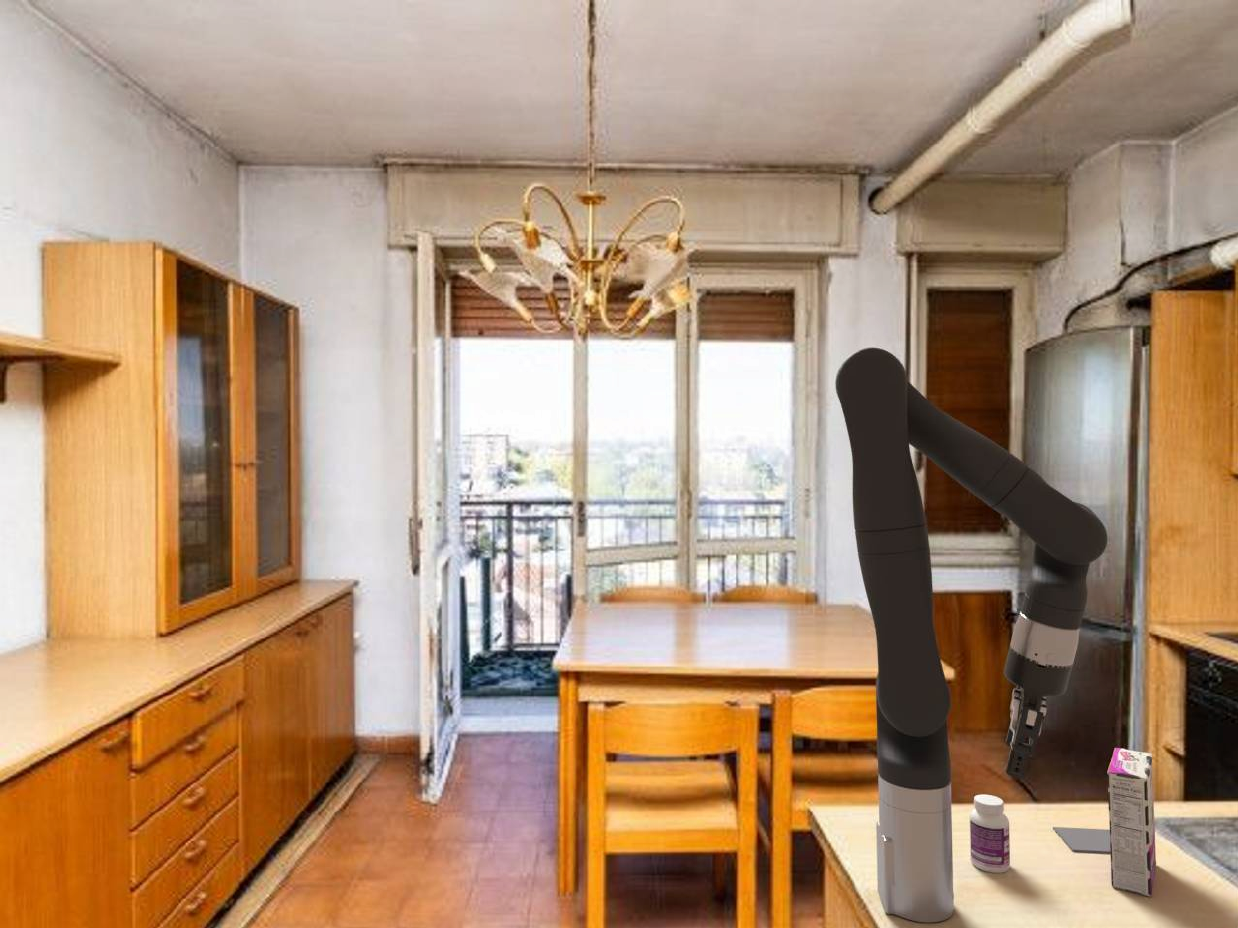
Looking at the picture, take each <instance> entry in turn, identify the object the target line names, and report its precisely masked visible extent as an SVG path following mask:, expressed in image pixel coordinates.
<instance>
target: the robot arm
mask: <svg viewBox="0 0 1238 928" xmlns="http://www.w3.org/2000/svg"><path fill="white" fill-rule="evenodd" d="M835 376H836V377H835V384H834V385H835V393H836V396H837V398H838V401H839V403H840V408H841V409H842V414H843V418H844V422H845V426H846V430H847V431H846V432H847V436H848V439H849V445H850V451H851V459H852V460H851V461H852V489H851V490H852V508H853V509H852V511H853V512H852V513H853V526H854V534H855V541H856V550H857V556H858V562H859V566H860V570H861V571H860V572H861V577H862V582H863V587H864V590H865V593H866V598H867V601H868V605H869V609H870V613H871V616H872V620H873V624H874V629H875V637H876V651H877V675H876V678H875V679H876V680H875V707H876V747H877V748H876V749H877V750H876V752H877V772H878V775H877V776H878V779H877V780H878V782H877V784H878V815H879V816H878V817H879V818H878V820H879V821H877V822H876V827H875V829H876V830H875V831H876V865H877V866H876V868H877V869H876V871H877V873H876V874H877V875H876V877H877V880H876V881H877V892H878V894H879V895H878V896H880V897H879V898H880V901H881V903H882V907H883V910H884V913H886V914H889V915H891V914H892V915H896V916H898V917H901V918H903V919H906V920H910V921H914V922H920V923H937V922H938V923H939V922H943V921H945V920H947V919H949V918H950V917H952V915H953V914H954V906H955V905H954V898H955V896H954V895H955V894H954V866H953V865H954V863H953V862H954V861H953V856H954V855H953V821H952V819H953V818H952V815H953V813H952V812H953V811H952V773H951V772H952V769H951V768H952V767H951V756H950V755H951V754H950V748H949V747H950V746H949V733H948V717H949V714H950V712H951V708H952V707H951V706H952V696H951V691H950V687H949V685H948V682H947V678H946V675H945V672H944V668H943V664H942V660H941V657H940V652H939V647H938V642H937V637H936V633H935V632H936V631H935V623H934V598H933V597H934V595H933V594H934V591H933V588H934V587H933V573H932V559H931V548H930V541H929V532H928V527H927V519H926V514H925V510H924V504H923V498H922V493H921V491H920V485H919V481H918V477H917V474H916V470H915V466H914V462H913V459H912V455H911V449H910V446H912V448H914V449H916V450H917V451H919V452H920V453H921V454H922V455H923V456H925V457H926V458H928V459H929V460H930V461H931V462H932V463H934V464H935V465H936V466H937V467H939V468H940V469H941V470H943V471H944V472H945V473H946V475H947V474H948V476H950V477H951V478H952V479H953V480H954V481H956V482H957V483H959V484H960V486H962V487H963V488H965V489H966V490H968V491H969V492H970V493H971V494H973V495H974V496H975V497H977V498H978V499H979V500H981V501H982V502H983V503H985V504H986V505H987V506H988V507H990V508H991V509H993V510H995V511H996V512H997V513H999V514H1001V515H1002V516H1004V517H1005V518H1007V520H1009V521H1011V522H1012V523H1013V524H1014V526H1016V527H1017V528H1018V529H1019V530H1020V531H1022V532H1023V533H1024V534H1025V535H1026V536H1027V537H1028V538H1029V539H1031V540H1032V541H1033V543H1034V547H1033V555H1032V563H1031V572H1030V575H1029V579H1028V582H1027V585H1026V588H1025V591H1024V596H1023V599H1022V600H1023V601H1022V604H1021V608H1020V611H1019V615H1018V617H1017V620H1016V623H1015V625H1014V629H1013V631H1012V636H1011V640H1010V645H1009V648H1008V653H1007V655H1006V656H1007V657H1006V661H1005V665H1004V669H1003V674H1004V676H1005V678H1006V679H1007V680H1008V681H1009V682H1010V683H1011V684H1013V685H1014V686H1016V688H1014V687H1013V690H1012V694H1011V702H1010V708H1009V711H1010V714H1009V716H1010V723H1009V728H1008V732H1007V735H1006V739H1005V744H1006V746H1008V747H1010V750H1009V751H1010V752H1009V755H1008V759H1007V762H1006V763H1007V764H1006V766H1005V772H1006V774H1007V775H1008V776H1010V777H1013V778H1016V779H1019V780H1023V779H1025V776H1026V772H1027V768H1028V765H1029V760H1030V757H1031V758H1034V755H1035V754H1036V748H1037V745H1038V739H1039V737H1040V735H1041V732H1042V724H1043V720H1045V716H1046V714H1047V709H1048V708H1047V707H1048V705H1047V704H1046V702H1047V697H1048V696H1051V697H1057V696H1061V695H1064V694H1065V693H1066V692H1067V689H1068V684H1069V681H1070V678H1071V677H1070V676H1071V674H1072V669H1073V665H1074V662H1075V658H1076V657H1075V656H1076V653H1077V650H1078V646H1079V645H1078V644H1079V639H1080V637H1079V636H1080V629H1081V626H1082V622H1083V618H1084V614H1085V610H1086V606H1087V601H1088V587H1087V576H1088V573H1089V569H1090V565H1091V563H1092V562H1094V561H1096V560H1098V559H1099V558H1100V557H1101V556H1102V555H1103V554H1104V552H1105V550H1106V549H1107V545H1108V532H1107V528H1106V527H1105V525H1104V523H1103V522H1102V520H1101V519H1100V518H1099V517H1098V516H1097V515H1096V513H1095V512H1094V511H1093V510H1092V509H1091V508H1090V507H1088V506H1086V505H1084V504H1082V503H1081V502H1076V501H1073V500H1072V499H1070V498H1068V497H1067V496H1066V495H1065V494H1063V493H1061V492H1060V491H1059V490H1057V489H1056V488H1055V487H1053V486H1051V485H1050V484H1049V483H1048V482H1046V480H1045V479H1044V478H1043V477H1042V476H1041V475H1040V474H1039V473H1038V472H1036V471H1035V470H1034V469H1032V467H1030V466H1028V465H1027V464H1026V463H1025V462H1023V461H1022V460H1021V459H1020V458H1018V457H1016V456H1015V455H1014V454H1012V453H1011V452H1010V451H1008V450H1007V449H1005V448H1003V447H1002V446H1001V445H999V444H998V443H996V442H995V441H994V440H992V439H990V438H988V437H987V436H986V435H983V434H981V433H980V432H978V431H977V430H974V428H971V427H970V426H967V425H966V424H964V423H962V422H961V421H959V420H957V419H956V418H954V417H952V416H951V415H950V414H948V413H946V412H945V411H943V410H942V409H940V408H939V407H938V406H936V405H935V404H933V402H932V401H930V400H929V399H928V398H927V397H925V396H924V395H923V394H922V393H921V392H920V391H919V390H918V389H917V388H916V387H915V386H914V385H913V384H912V383H911V382H910V381H909V380H908V376H907V371H906V369H905V367H904V365H903V363H902V362H901V360H899V358H898V357H896V355H894V354H893V353H891V352H890V351H887V350H885V349H884V348H879V347H864V348H861V349H858V350H856V351H854V352H852V353H851V354H850V355H849V356H847V357H846V359H845V360H844V361H843V362H842V363H841V364H840V366H839V368H838V370H837V372H836V375H835ZM1027 738H1029V740H1028V743H1026V739H1027Z"/></svg>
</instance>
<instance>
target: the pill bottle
mask: <svg viewBox="0 0 1238 928" xmlns="http://www.w3.org/2000/svg"><path fill="white" fill-rule="evenodd" d="M973 806H974V808H973V810H971V811H970V814H969V837H970V838H969V840H970V842H969V844H970V846H969V849H970V850H969V851H970V854H969V855H970V861H971V864H973V866H974V867H976V868H977V869H979V870H982V871H984V872H987V873H993V874H999V873H1005V872H1007V871H1008V870H1009V869H1010V868H1011V867H1010V866H1011V860H1010V859H1011V853H1010V850H1011V849H1010V848H1011V847H1010V846H1011V845H1010V843H1011V842H1010V821H1009V820H1010V819H1009V818H1008V816H1007V815H1006V814H1005V813H1004V810H1005V807H1004V806H1005V803H1004V800H1003V799H1001V798H1000V797H999V796H995V795H990V794H982V793H981V794H977V795H975V796H974V798H973Z"/></svg>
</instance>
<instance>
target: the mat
mask: <svg viewBox="0 0 1238 928" xmlns="http://www.w3.org/2000/svg"><path fill="white" fill-rule="evenodd" d="M1052 829H1053V831H1054V830H1055V831H1056V832H1057V833H1058V834H1057V833H1056V832H1055V831H1054V832H1055V833H1056V834H1057V836H1059V838H1060V837H1061V838H1062V839H1061V838H1060V839H1061V840H1062V841H1063V842H1064V843H1065V845H1066V846H1068V848H1069V849H1070V850H1071V852H1073V853H1074V852H1075V853H1095V854H1111V851H1110V829H1103V828H1085V827H1084V828H1083V827H1081V828H1080V827H1064V826H1063V827H1062V826H1061V827H1059V826H1053V827H1052Z"/></svg>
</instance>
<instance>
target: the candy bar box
mask: <svg viewBox="0 0 1238 928" xmlns="http://www.w3.org/2000/svg"><path fill="white" fill-rule="evenodd" d="M1110 760H1111V761H1110V763H1109V765H1108V769H1107V772H1106V773H1107V791H1108V792H1107V797H1108V821H1109V830H1110V851H1111V853H1110V870H1111V871H1110V874H1111V881H1110V882H1111V887H1112V888H1114V889H1117V890H1120V891H1123V892H1127V893H1128V892H1129V893H1132V894H1136V895H1140V896H1144V897H1149V898H1152V894H1153V889H1154V880H1155V875H1156V866H1157V859H1156V858H1157V856H1156V855H1157V854H1156V834H1155V832H1156V830H1155V829H1156V828H1155V810H1154V809H1155V806H1154V805H1155V804H1154V801H1155V800H1154V780H1153V779H1154V777H1153V776H1154V775H1153V774H1154V773H1153V754H1152V753H1149V752H1144V751H1138V750H1133V749H1132V750H1131V749H1127V748H1121V747H1119V748H1118V747H1114V750H1113V753H1112V757H1111V759H1110Z"/></svg>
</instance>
